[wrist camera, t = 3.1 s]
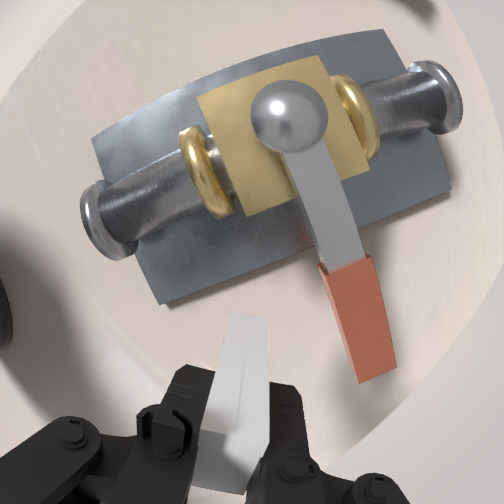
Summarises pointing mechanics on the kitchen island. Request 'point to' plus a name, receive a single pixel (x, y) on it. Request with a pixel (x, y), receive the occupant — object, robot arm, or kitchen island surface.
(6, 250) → the kitchen island surface
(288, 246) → the valve body
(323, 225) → the lever
